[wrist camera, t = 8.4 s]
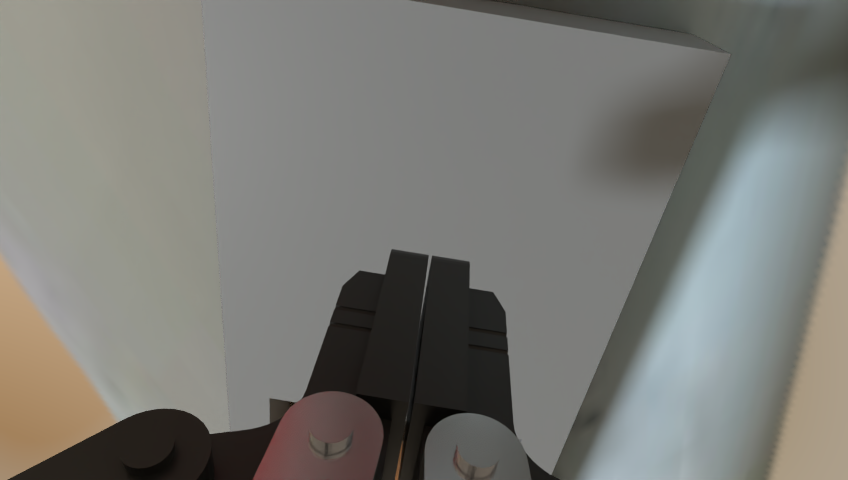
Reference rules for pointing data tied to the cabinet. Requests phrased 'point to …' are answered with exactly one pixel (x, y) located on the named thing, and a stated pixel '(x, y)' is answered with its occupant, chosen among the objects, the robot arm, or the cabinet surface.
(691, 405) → the cabinet surface
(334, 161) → the board
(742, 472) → the cabinet surface
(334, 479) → the robot arm
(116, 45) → the cabinet surface
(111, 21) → the cabinet surface
